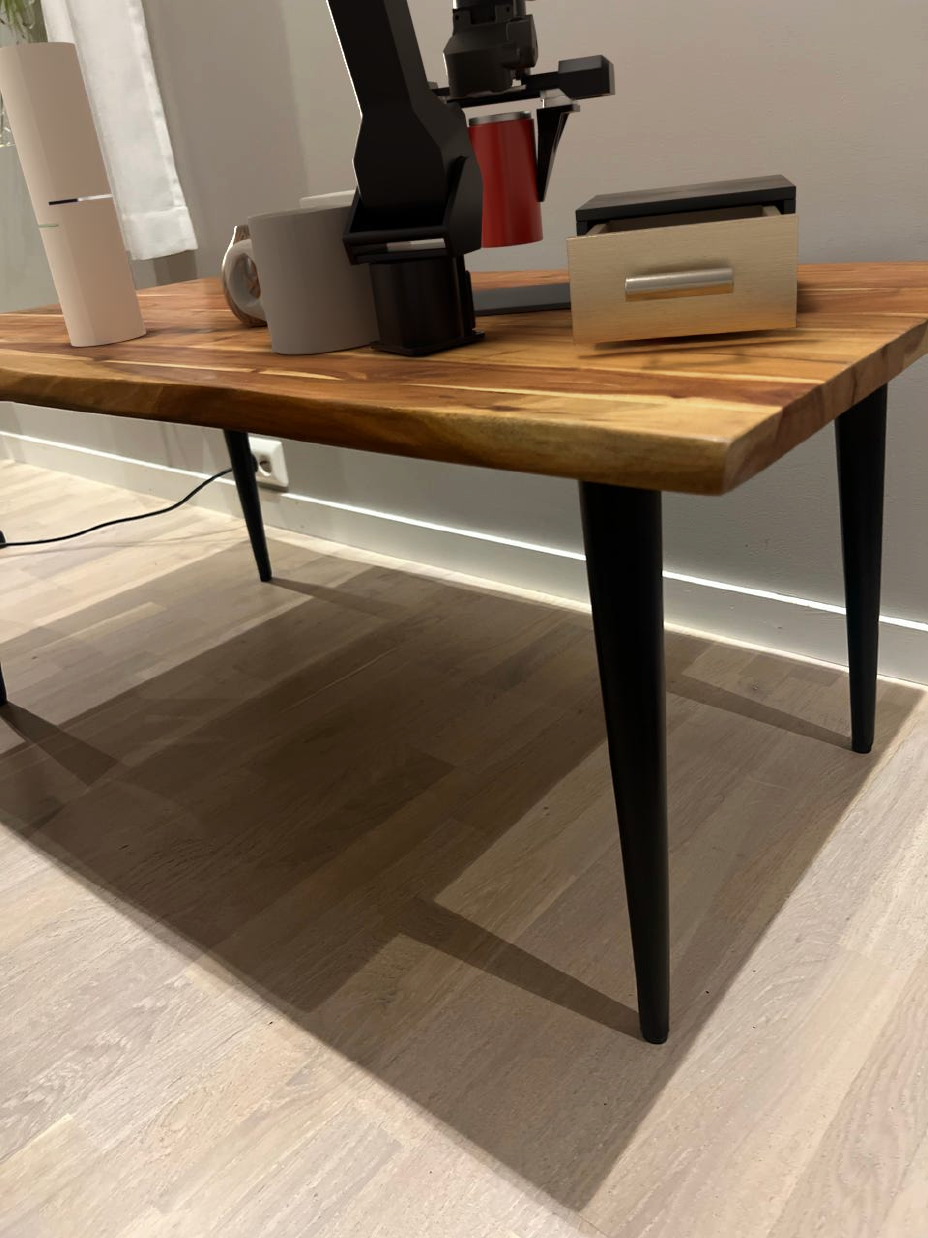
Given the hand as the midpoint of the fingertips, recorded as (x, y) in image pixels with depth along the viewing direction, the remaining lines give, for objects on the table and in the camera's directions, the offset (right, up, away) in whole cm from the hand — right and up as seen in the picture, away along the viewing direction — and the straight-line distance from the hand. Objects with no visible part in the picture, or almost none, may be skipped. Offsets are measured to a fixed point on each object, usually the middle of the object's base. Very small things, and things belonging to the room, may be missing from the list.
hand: (507, 205), depth 85 cm
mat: (+1, -7, +3) cm, 8 cm away
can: (0, -3, +1) cm, 3 cm away
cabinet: (+14, -11, -8) cm, 19 cm away
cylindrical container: (-39, -8, +13) cm, 42 cm away
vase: (-23, -7, +10) cm, 26 cm away
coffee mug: (-16, -13, -3) cm, 20 cm away
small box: (-13, -6, +10) cm, 17 cm away
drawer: (+11, -16, -19) cm, 27 cm away
